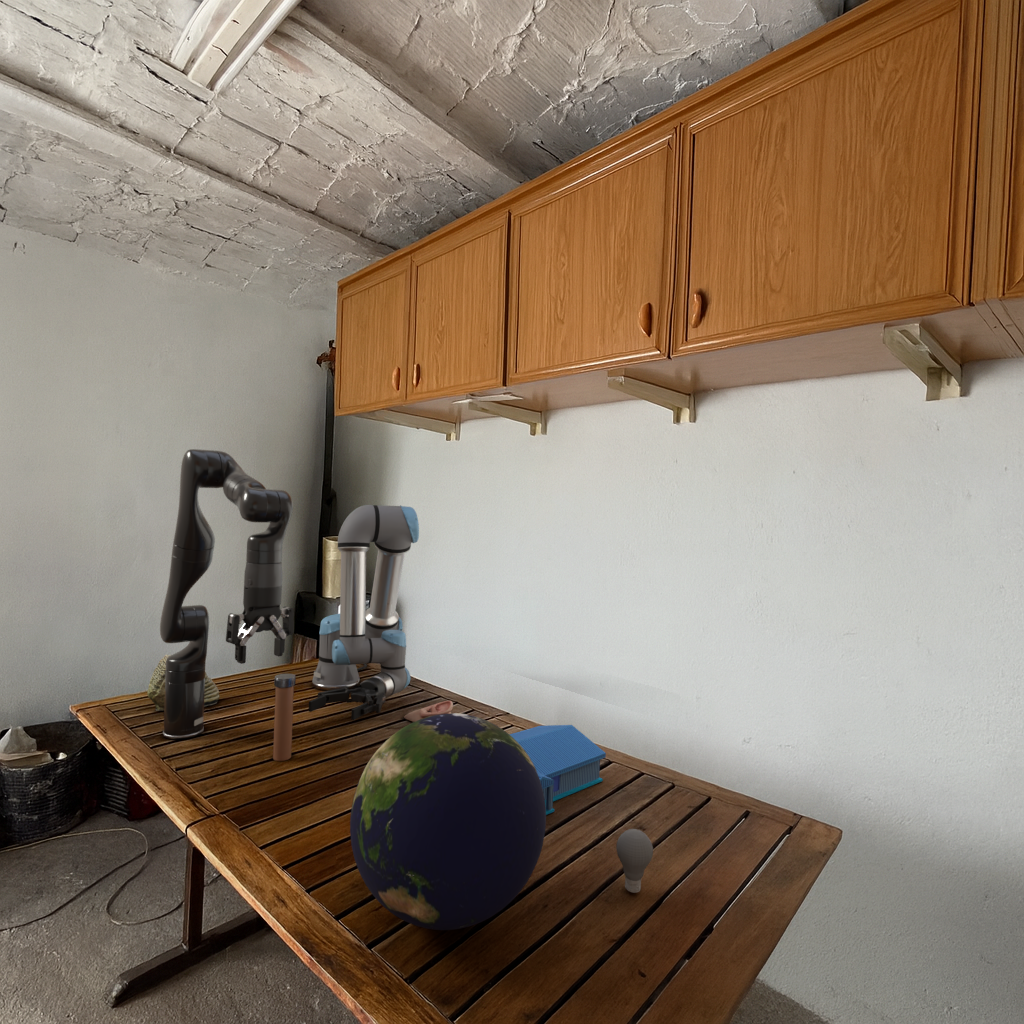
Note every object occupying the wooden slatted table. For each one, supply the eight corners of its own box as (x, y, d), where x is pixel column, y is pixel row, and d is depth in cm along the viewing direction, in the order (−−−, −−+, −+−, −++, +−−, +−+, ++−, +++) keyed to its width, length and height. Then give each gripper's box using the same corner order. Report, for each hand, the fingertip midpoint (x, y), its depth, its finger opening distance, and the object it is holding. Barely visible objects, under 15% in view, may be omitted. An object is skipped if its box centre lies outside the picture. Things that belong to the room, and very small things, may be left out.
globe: (302, 941, 90) (310, 732, 90) (412, 840, 118) (419, 680, 117) (494, 1014, 79) (505, 776, 78) (565, 883, 107) (574, 707, 106)
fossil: (144, 707, 182) (145, 655, 182) (212, 696, 194) (213, 647, 194) (151, 716, 175) (153, 662, 175) (221, 703, 188) (223, 653, 188)
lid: (269, 685, 151) (270, 676, 151) (285, 680, 156) (286, 672, 156) (283, 689, 149) (284, 680, 149) (299, 684, 153) (300, 675, 153)
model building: (482, 842, 118) (484, 789, 118) (409, 793, 137) (411, 747, 136) (614, 785, 145) (616, 742, 145) (538, 751, 163) (540, 712, 163)
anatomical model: (400, 707, 180) (414, 695, 191) (399, 721, 180) (414, 708, 191) (445, 712, 177) (456, 700, 189) (444, 726, 177) (456, 713, 189)
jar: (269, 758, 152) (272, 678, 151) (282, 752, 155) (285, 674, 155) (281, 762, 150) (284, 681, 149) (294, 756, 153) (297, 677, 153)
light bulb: (610, 879, 108) (613, 822, 108) (644, 879, 109) (647, 822, 109) (619, 902, 102) (622, 840, 102) (655, 901, 103) (658, 840, 103)
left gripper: (283, 578, 142) (279, 650, 143) (221, 583, 131) (218, 661, 131) (302, 582, 138) (299, 656, 138) (240, 588, 126) (237, 669, 127)
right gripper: (411, 708, 184) (370, 732, 164) (339, 695, 192) (292, 717, 173) (412, 683, 184) (371, 704, 164) (340, 671, 192) (293, 689, 172)
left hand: (260, 659), depth 135 cm, fingers open, 8 cm apart
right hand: (330, 710), depth 168 cm, fingers open, 13 cm apart
